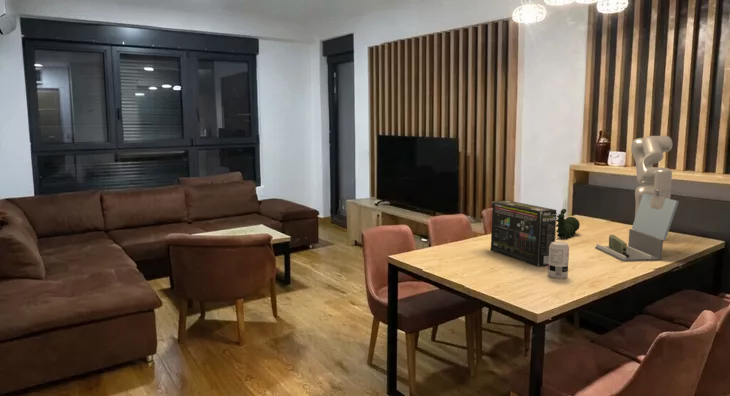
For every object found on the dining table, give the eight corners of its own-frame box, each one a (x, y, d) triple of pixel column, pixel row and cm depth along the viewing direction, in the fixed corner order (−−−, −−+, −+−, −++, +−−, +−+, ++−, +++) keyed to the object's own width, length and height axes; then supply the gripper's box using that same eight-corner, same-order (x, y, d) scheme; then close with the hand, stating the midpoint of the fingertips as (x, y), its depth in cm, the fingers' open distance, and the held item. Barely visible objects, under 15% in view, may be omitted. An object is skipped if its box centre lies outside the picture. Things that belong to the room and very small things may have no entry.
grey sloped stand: (630, 247, 277) (631, 228, 275) (661, 260, 251) (663, 240, 249) (595, 248, 275) (596, 229, 274) (623, 261, 249) (624, 241, 248)
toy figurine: (567, 243, 292) (583, 232, 310) (568, 212, 288) (584, 202, 306) (551, 241, 299) (568, 230, 316) (551, 210, 295) (568, 201, 312)
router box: (555, 264, 245) (558, 209, 241) (538, 267, 240) (541, 211, 236) (505, 248, 277) (507, 199, 273) (489, 250, 272) (490, 200, 268)
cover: (631, 228, 275) (633, 229, 275) (663, 239, 249) (665, 240, 250) (643, 193, 273) (645, 193, 273) (676, 200, 247) (679, 201, 247)
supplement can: (544, 273, 230) (546, 241, 228) (562, 273, 231) (564, 241, 229) (552, 279, 222) (554, 245, 220) (570, 278, 223) (572, 245, 221)
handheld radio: (614, 246, 275) (631, 258, 250) (608, 246, 275) (624, 258, 251) (614, 234, 274) (632, 245, 249) (608, 234, 274) (625, 245, 250)
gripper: (644, 191, 268) (641, 223, 270) (666, 195, 251) (663, 229, 253) (657, 191, 268) (654, 222, 271) (680, 195, 251) (677, 229, 254)
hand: (658, 226), depth 262 cm, fingers open, 9 cm apart
